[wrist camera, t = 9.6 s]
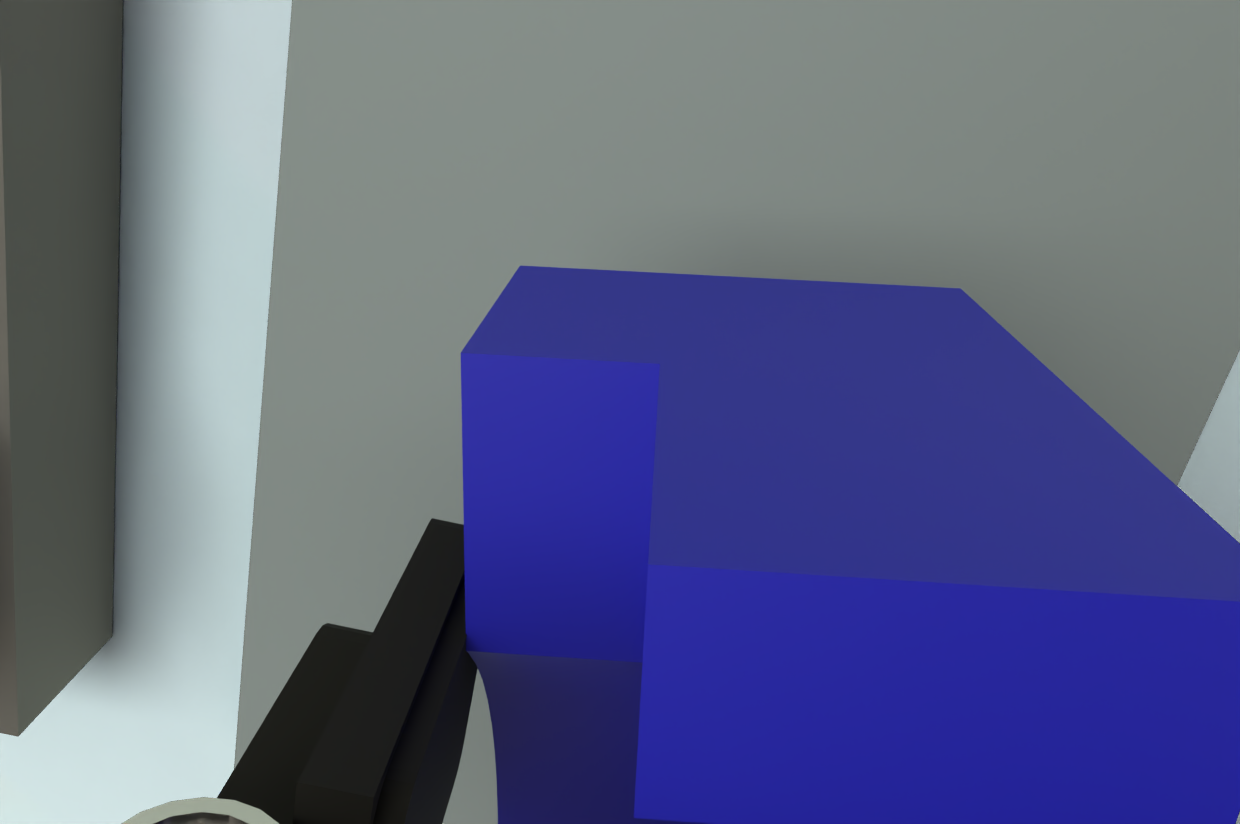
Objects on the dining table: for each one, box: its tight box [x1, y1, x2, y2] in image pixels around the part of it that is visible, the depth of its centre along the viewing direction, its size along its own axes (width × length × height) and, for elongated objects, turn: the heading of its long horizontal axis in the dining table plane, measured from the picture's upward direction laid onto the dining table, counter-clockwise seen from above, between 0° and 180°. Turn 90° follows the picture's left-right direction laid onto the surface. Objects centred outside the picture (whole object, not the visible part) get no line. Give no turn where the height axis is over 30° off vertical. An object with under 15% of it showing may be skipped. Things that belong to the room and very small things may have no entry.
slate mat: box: [234, 0, 1240, 824], centre depth 17 cm, size 15×18×1 cm
